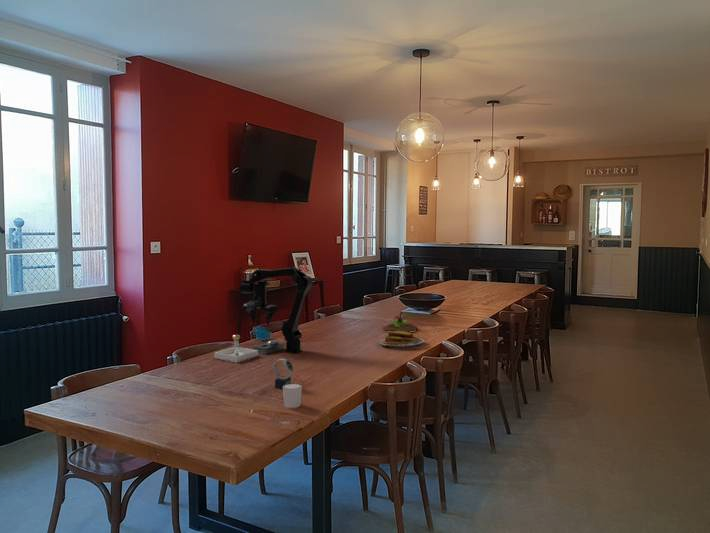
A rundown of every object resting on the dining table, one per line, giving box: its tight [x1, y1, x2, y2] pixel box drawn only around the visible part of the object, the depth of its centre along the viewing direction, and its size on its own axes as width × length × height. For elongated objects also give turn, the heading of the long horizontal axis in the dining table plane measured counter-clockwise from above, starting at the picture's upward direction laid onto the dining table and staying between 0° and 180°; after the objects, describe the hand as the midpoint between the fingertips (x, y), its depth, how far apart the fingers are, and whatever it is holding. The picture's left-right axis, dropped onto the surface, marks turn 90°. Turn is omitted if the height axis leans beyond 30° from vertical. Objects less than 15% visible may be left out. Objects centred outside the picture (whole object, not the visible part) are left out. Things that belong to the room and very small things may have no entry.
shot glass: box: [282, 383, 303, 409], centre depth 192 cm, size 7×7×7 cm
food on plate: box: [377, 331, 426, 349], centre depth 288 cm, size 25×25×7 cm
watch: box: [272, 358, 294, 390], centre depth 215 cm, size 6×8×11 cm
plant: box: [382, 311, 418, 332], centre depth 328 cm, size 20×20×11 cm
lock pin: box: [232, 334, 241, 356], centre depth 260 cm, size 4×4×10 cm
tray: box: [213, 346, 259, 364], centre depth 260 cm, size 15×15×3 cm
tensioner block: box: [252, 339, 285, 355], centre depth 274 cm, size 8×14×4 cm, turn 149°
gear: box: [253, 325, 272, 342], centre depth 300 cm, size 11×6×10 cm
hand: (260, 323), depth 277 cm, fingers open, 9 cm apart
